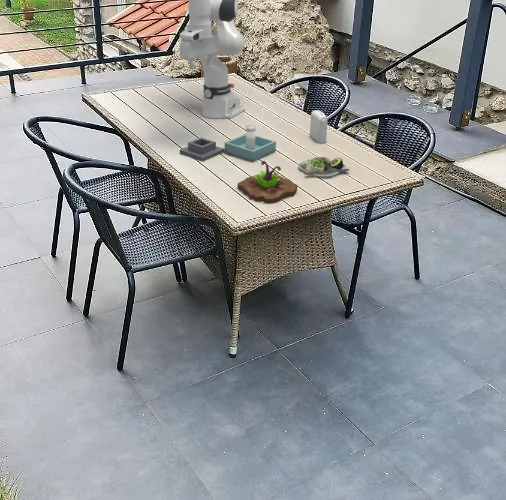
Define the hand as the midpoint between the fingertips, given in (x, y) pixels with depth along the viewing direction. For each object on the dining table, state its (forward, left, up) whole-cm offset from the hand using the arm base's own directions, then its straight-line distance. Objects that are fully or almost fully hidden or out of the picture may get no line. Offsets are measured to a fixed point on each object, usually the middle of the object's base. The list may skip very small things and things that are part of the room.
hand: (200, 67), depth 266 cm
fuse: (-3, +24, -30) cm, 39 cm away
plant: (+22, +52, -32) cm, 65 cm away
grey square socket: (+11, +10, -31) cm, 34 cm away
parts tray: (-3, +24, -31) cm, 40 cm away
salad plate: (-8, +57, -32) cm, 66 cm away
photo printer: (-34, +37, -31) cm, 59 cm away
